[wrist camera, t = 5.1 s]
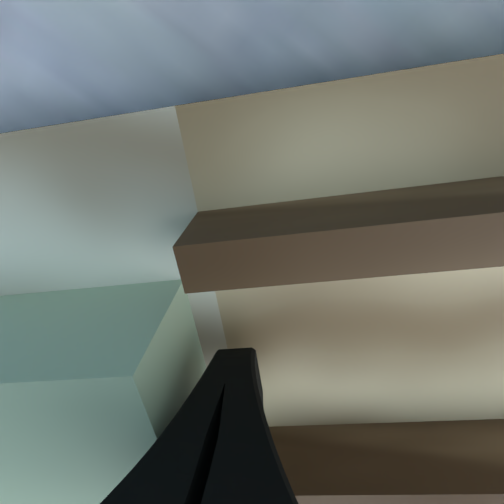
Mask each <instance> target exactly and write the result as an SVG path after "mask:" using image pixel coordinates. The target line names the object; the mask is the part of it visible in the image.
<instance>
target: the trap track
mask: <svg viewBox="0 0 504 504" xmlns="http://www.w3.org/2000/svg"><path fill="white" fill-rule="evenodd" d="M170 280H181V281H182V285H183V289H184V293H185V294H187V295H188V298H189V302H190V306H191V310H192V314H193V318H194V321H195V325H196V329H197V333H198V337H199V341H200V345H201V348H202V352H203V356H204V360H205V364H206V368H207V366H208V365H209V363H210V361H211V360H212V358H213V356H214V354H215V353H216V352H217V350H218V349H234V348H250V347H252V348H253V349H255V350H256V354H257V360H258V366H259V372H260V378H261V383H262V389H263V407H264V413H265V416H266V419H267V423H268V426H269V429H270V432H271V435H272V438H273V441H274V444H275V447H276V450H277V452H278V455H279V458H280V460H281V463H282V465H283V468H284V470H285V473H286V475H287V478H288V480H289V483H290V485H291V488H292V490H293V492H294V495H295V497H296V499H297V501H298V504H504V54H498V55H492V56H486V57H479V58H473V59H467V60H460V61H454V62H448V63H441V64H435V65H429V66H423V67H416V68H410V69H404V70H397V71H391V72H385V73H378V74H372V75H366V76H359V77H353V78H347V79H340V80H334V81H328V82H322V83H315V84H309V85H303V86H296V87H290V88H284V89H277V90H271V91H265V92H258V93H252V94H246V95H240V96H233V97H227V98H221V99H214V100H208V101H202V102H195V103H189V104H183V105H176V106H170V107H164V108H157V109H151V110H145V111H139V112H132V113H126V114H120V115H113V116H107V117H101V118H94V119H88V120H82V121H75V122H69V123H63V124H56V125H50V126H44V127H38V128H31V129H25V130H19V131H12V132H6V133H0V296H5V295H16V294H27V293H38V292H49V291H60V290H71V289H82V288H93V287H104V286H115V285H126V284H137V283H148V282H159V281H170Z"/></svg>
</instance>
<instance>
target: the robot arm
mask: <svg viewBox="0 0 504 504" xmlns="http://www.w3.org/2000/svg"><path fill="white" fill-rule="evenodd" d="M100 504H298V501H297V499H296V497H295V495H294V492H293V490H292V488H291V485H290V483H289V480H288V478H287V475H286V473H285V470H284V468H283V465H282V463H281V460H280V458H279V455H278V452H277V450H276V447H275V444H274V441H273V438H272V435H271V432H270V429H269V426H268V423H267V419H266V416H265V413H264V407H263V389H262V383H261V378H260V372H259V366H258V360H257V354H256V350H255V349H253V348H252V347H250V348H234V349H218V350H217V352H216V353H215V354H214V356H213V358H212V360H211V361H210V363H209V365H208V366H207V368H206V370H205V371H204V373H203V374H202V376H201V378H200V379H199V381H198V382H197V384H196V386H195V387H194V389H193V390H192V392H191V393H190V395H189V396H188V398H187V399H186V401H185V402H184V403H183V405H182V406H181V408H180V409H179V411H178V412H177V413H176V415H175V416H174V417H173V419H172V420H171V421H170V423H169V424H168V426H167V427H166V428H165V430H164V431H163V432H162V434H161V435H160V436H159V437H158V439H157V440H156V441H155V442H154V444H153V445H152V446H151V447H150V449H149V450H148V451H147V452H146V453H145V455H144V456H143V457H142V458H141V459H140V460H139V462H138V463H137V464H136V465H135V466H134V467H133V469H132V470H131V471H130V472H129V473H128V474H127V475H126V476H125V477H124V478H123V479H122V481H121V482H120V483H119V484H118V485H117V486H116V487H115V488H114V489H113V490H112V491H111V492H110V494H109V495H108V496H107V497H106V498H105V499H104V500H103V501H102V502H101V503H100Z"/></svg>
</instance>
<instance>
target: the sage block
mask: <svg viewBox="0 0 504 504" xmlns="http://www.w3.org/2000/svg"><path fill="white" fill-rule="evenodd" d="M205 370H206V364H205V360H204V356H203V352H202V348H201V345H200V341H199V337H198V333H197V329H196V325H195V321H194V318H193V314H192V310H191V306H190V302H189V298H188V295H187V294H185V293H184V289H183V285H182V281H181V280H170V281H159V282H148V283H137V284H126V285H115V286H104V287H93V288H82V289H71V290H60V291H49V292H38V293H27V294H16V295H5V296H0V504H100V503H101V502H102V501H103V500H104V499H105V498H106V497H107V496H108V495H109V494H110V492H111V491H112V490H113V489H114V488H115V487H116V486H117V485H118V484H119V483H120V482H121V481H122V479H123V478H124V477H125V476H126V475H127V474H128V473H129V472H130V471H131V470H132V469H133V467H134V466H135V465H136V464H137V463H138V462H139V460H140V459H141V458H142V457H143V456H144V455H145V453H146V452H147V451H148V450H149V449H150V447H151V446H152V445H153V444H154V442H155V441H156V440H157V439H158V437H159V436H160V435H161V434H162V432H163V431H164V430H165V428H166V427H167V426H168V424H169V423H170V421H171V420H172V419H173V417H174V416H175V415H176V413H177V412H178V411H179V409H180V408H181V406H182V405H183V403H184V402H185V401H186V399H187V398H188V396H189V395H190V393H191V392H192V390H193V389H194V387H195V386H196V384H197V382H198V381H199V379H200V378H201V376H202V374H203V373H204V371H205Z"/></svg>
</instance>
